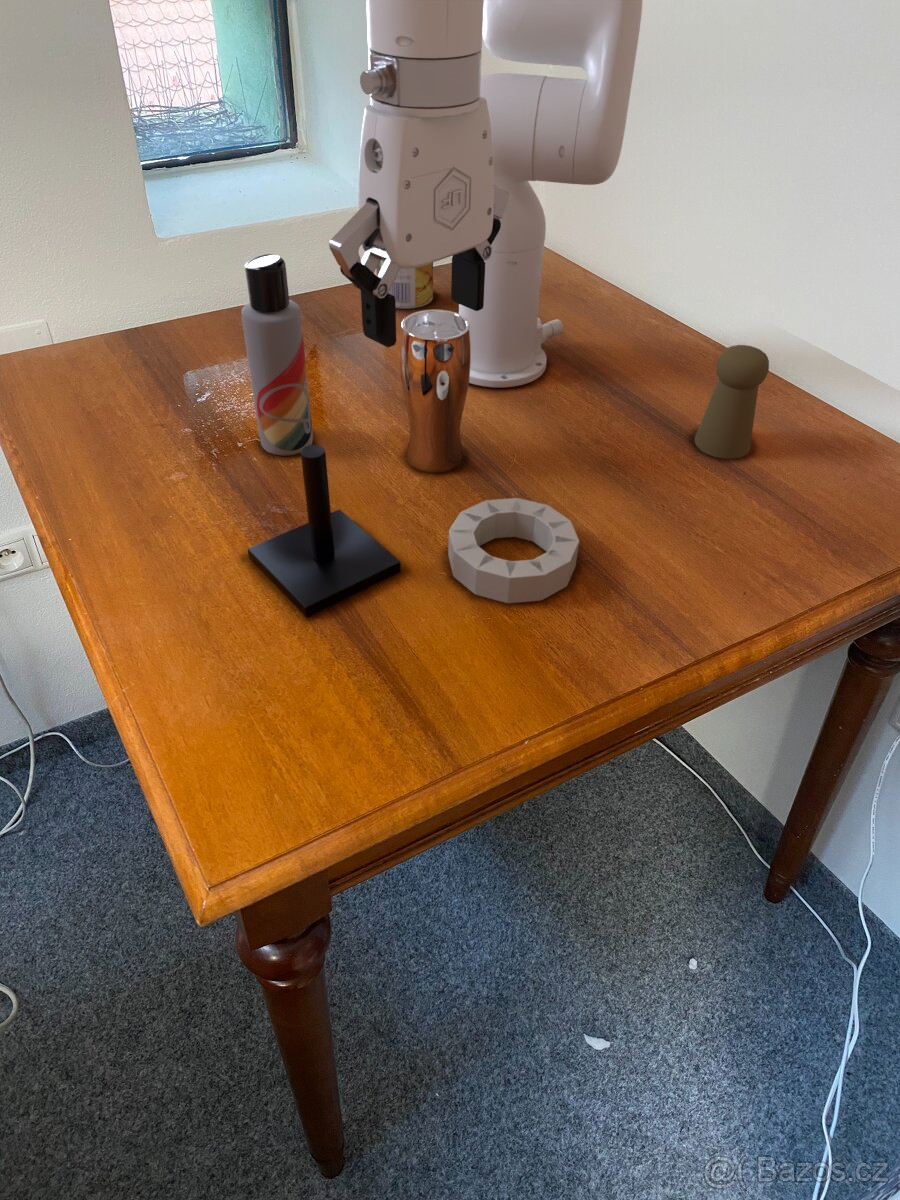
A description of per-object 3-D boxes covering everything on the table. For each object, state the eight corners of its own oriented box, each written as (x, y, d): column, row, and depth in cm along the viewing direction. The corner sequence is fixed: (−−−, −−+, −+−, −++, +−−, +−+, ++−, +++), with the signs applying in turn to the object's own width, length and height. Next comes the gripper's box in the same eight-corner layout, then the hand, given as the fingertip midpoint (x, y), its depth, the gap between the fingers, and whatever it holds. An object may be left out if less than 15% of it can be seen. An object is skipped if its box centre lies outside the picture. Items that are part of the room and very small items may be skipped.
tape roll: (516, 509, 87) (518, 484, 85) (599, 568, 80) (603, 542, 78) (425, 553, 81) (425, 528, 79) (506, 620, 75) (508, 594, 73)
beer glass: (475, 447, 95) (481, 314, 85) (454, 481, 90) (458, 345, 80) (415, 434, 97) (414, 303, 87) (392, 468, 92) (388, 333, 82)
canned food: (435, 287, 127) (436, 200, 118) (429, 310, 121) (430, 220, 113) (381, 284, 127) (378, 197, 119) (373, 307, 121) (369, 217, 113)
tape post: (340, 518, 85) (330, 407, 77) (401, 571, 79) (398, 457, 71) (248, 558, 80) (228, 444, 72) (306, 617, 75) (291, 501, 67)
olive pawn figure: (754, 437, 98) (781, 345, 90) (744, 464, 94) (771, 369, 86) (701, 424, 100) (723, 333, 92) (688, 450, 95) (710, 356, 88)
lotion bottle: (303, 460, 93) (282, 272, 79) (252, 453, 93) (223, 266, 80) (320, 432, 97) (303, 250, 83) (271, 426, 98) (246, 244, 84)
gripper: (364, 111, 52) (374, 373, 64) (550, 72, 62) (530, 306, 73) (287, 89, 56) (310, 339, 68) (473, 55, 66) (466, 280, 77)
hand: (424, 322), depth 70 cm, fingers open, 9 cm apart
